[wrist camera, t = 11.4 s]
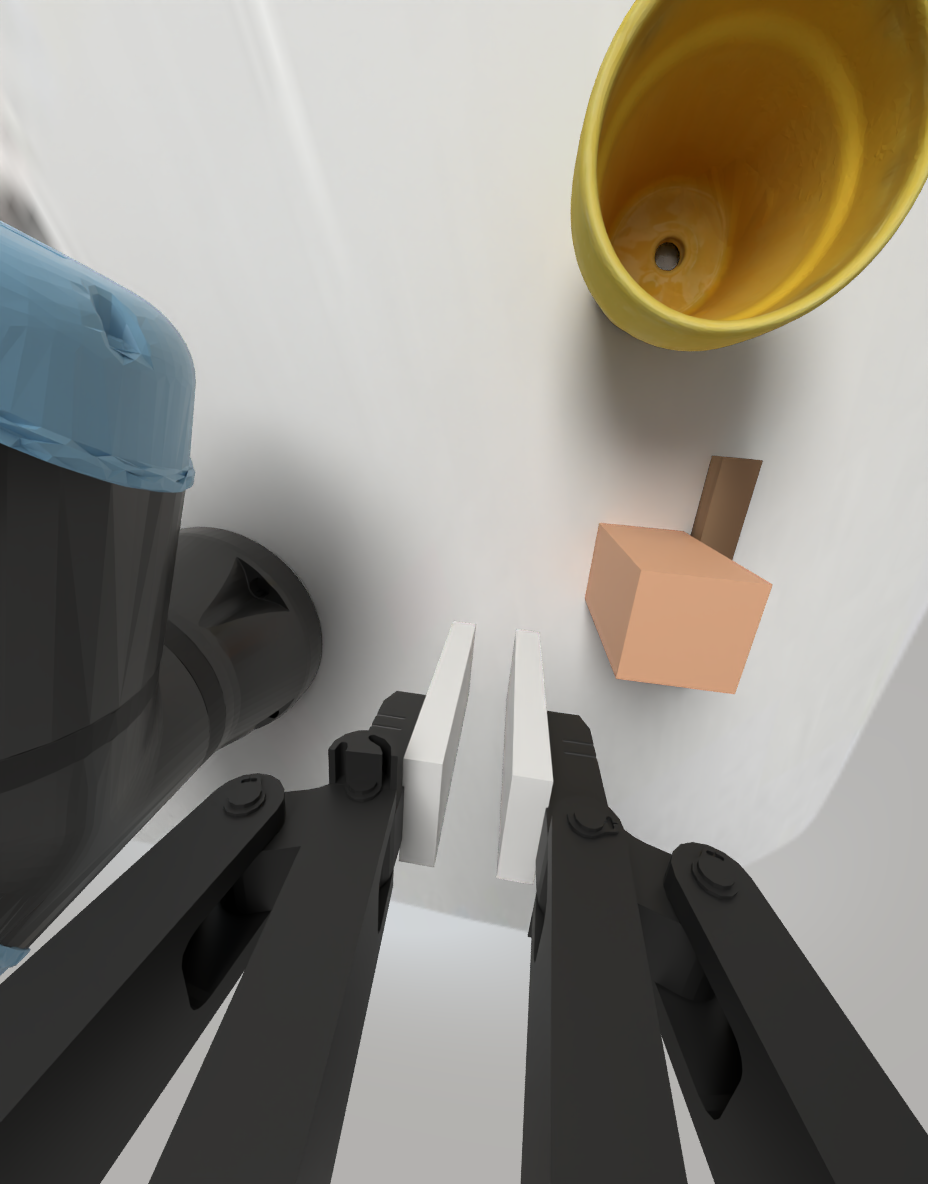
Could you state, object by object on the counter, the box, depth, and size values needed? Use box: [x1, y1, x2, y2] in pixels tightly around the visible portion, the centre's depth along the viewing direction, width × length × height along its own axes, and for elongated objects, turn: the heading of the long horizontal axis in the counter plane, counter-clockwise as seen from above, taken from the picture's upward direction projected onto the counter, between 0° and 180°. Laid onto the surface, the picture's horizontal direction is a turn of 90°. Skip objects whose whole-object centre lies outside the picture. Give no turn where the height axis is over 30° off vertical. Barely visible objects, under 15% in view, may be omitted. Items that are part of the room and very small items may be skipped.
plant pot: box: [571, 0, 928, 351], centre depth 18 cm, size 10×10×10 cm
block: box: [585, 523, 772, 694], centre depth 23 cm, size 5×5×10 cm
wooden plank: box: [691, 456, 763, 560], centre depth 26 cm, size 2×14×2 cm, turn 175°
